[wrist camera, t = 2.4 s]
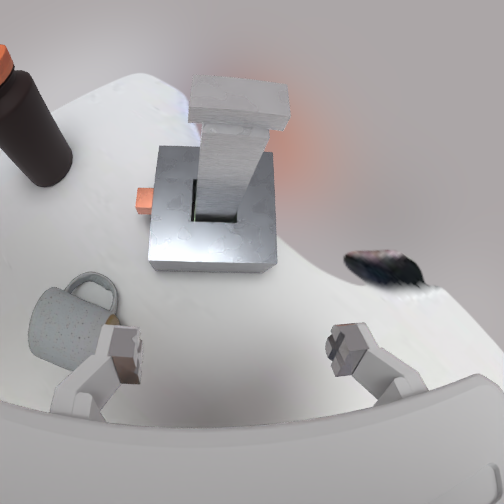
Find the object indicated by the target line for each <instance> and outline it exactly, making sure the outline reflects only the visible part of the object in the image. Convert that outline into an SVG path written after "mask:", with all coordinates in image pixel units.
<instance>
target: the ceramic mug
mask: <svg viewBox="0 0 504 504" xmlns="http://www.w3.org/2000/svg"><path fill="white" fill-rule="evenodd" d="M86 281H94V282H96V283H98V284H100V285H102V286H104V287H105V288H106V289H107V290H111V291H112V293H113V302H112V306H111V309H110V310H109V311H108V310H106V309H104V308H102V307H99V306H97V305H94V304H91V303H89V302H87V301H84V300H82V299H80V298H78V297H76V296H74V295H72V294H71V293H72V292H73V291H74V289H75V288H76V287H77V286H79V285H80V284H81V283H83V282H86ZM117 302H118V299H117V292H116V289H115V286H114V285H113V283H112V282H111V280H109V279H108V278H107V277H106V276H104V275H102V274H99V273H96V272H86V273H83V274H81V275H79V276H77V277H76V278H74V279H73V280H72V281H71V282H70V283H69V285H68V286H67V287H66V288H65V290H61V289H59V288H57V287H51V288H49V289H48V290H46V291H45V292H44V293H43V295H42V296H41V297H40V299H39V300H38V302H37V304H36V306H35V308H34V310H33V313H32V316H31V320H30V324H29V331H28V343H29V347H30V350H31V352H32V353H33V354H34V355H35V356H36V357H39V358H41V359H44V360H46V361H48V362H50V363H53V364H55V365H57V366H60V367H62V368H65V369H68V370H70V371H74V370H75V369H76V368H77V367H79V366H80V365H81V364H82V363H83V362H84V361H85V360H86V359H87V358H88V357H90V356H91V355H95V352H96V348H97V344H98V340H99V336H100V332H101V329H102V326H103V325H104V324H107V325H120V324H119V320H118V318H117V317H116V315H114V314H115V312H116V309H117Z"/></svg>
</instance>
